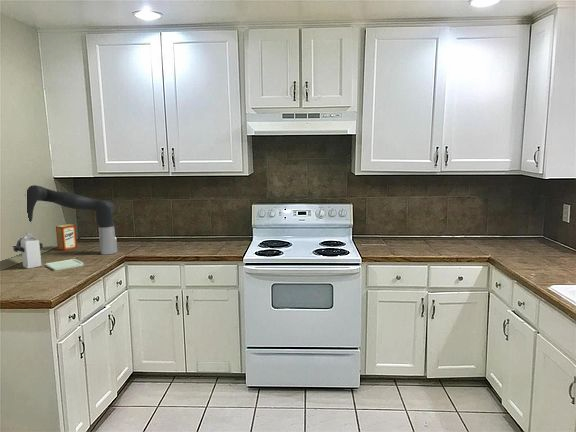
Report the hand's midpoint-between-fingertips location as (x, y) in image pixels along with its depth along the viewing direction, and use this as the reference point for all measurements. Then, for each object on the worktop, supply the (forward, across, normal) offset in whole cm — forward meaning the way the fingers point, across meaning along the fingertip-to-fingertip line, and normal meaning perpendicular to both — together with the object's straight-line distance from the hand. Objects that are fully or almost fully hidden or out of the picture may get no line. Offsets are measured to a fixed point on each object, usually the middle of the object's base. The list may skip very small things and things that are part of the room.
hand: (31, 249), depth 250 cm
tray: (+9, +14, +10) cm, 20 cm away
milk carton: (-2, 0, +11) cm, 11 cm away
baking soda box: (-38, +30, +11) cm, 50 cm away
